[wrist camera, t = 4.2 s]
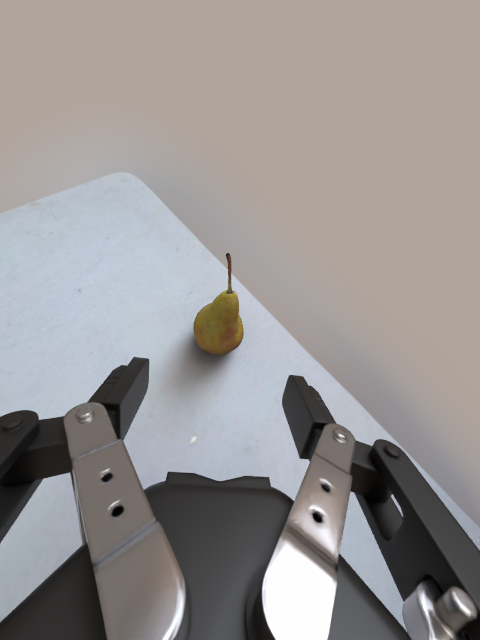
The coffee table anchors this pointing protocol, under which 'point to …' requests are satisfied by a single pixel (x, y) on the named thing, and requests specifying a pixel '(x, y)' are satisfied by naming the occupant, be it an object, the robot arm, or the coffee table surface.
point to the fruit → (220, 322)
